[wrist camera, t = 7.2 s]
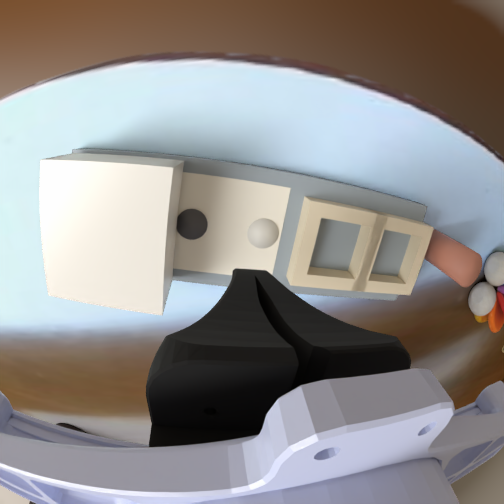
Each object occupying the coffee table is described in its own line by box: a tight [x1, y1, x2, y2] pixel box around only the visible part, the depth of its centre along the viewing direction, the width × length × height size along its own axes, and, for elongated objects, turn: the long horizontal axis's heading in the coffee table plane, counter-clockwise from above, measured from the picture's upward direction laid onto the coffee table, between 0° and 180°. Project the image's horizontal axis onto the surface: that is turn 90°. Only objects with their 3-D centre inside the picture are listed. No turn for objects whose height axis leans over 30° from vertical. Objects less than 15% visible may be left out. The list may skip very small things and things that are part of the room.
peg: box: [424, 229, 482, 287], centre depth 21 cm, size 3×3×6 cm
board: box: [72, 149, 434, 300], centre depth 21 cm, size 28×9×3 cm, turn 80°
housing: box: [40, 153, 184, 315], centre depth 17 cm, size 8×9×5 cm
